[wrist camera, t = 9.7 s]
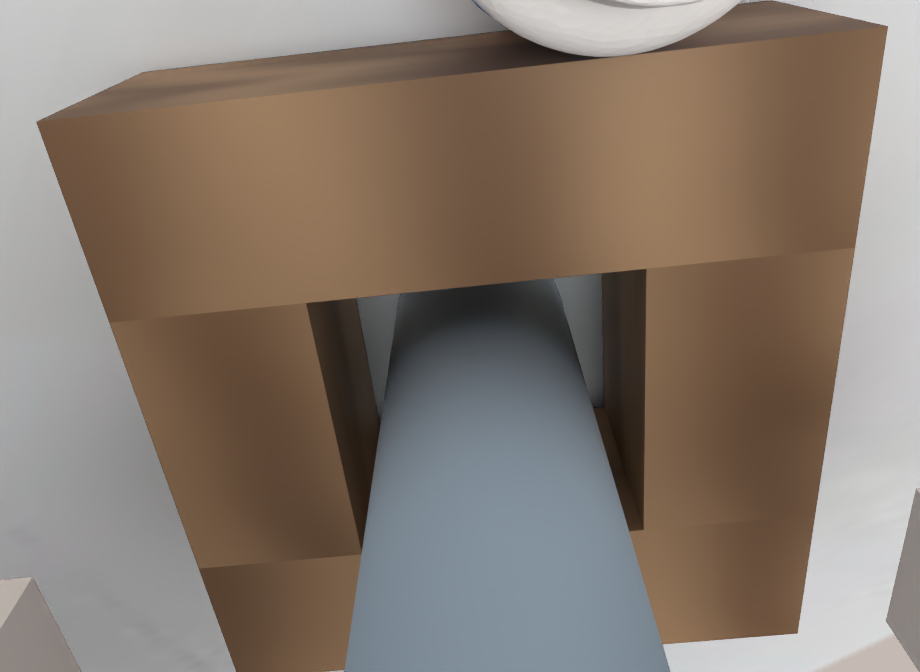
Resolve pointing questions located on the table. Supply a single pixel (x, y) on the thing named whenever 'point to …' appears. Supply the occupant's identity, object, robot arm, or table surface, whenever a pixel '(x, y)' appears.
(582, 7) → the pill bottle
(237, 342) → the socket block
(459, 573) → the peg
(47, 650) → the robot arm
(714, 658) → the table surface
